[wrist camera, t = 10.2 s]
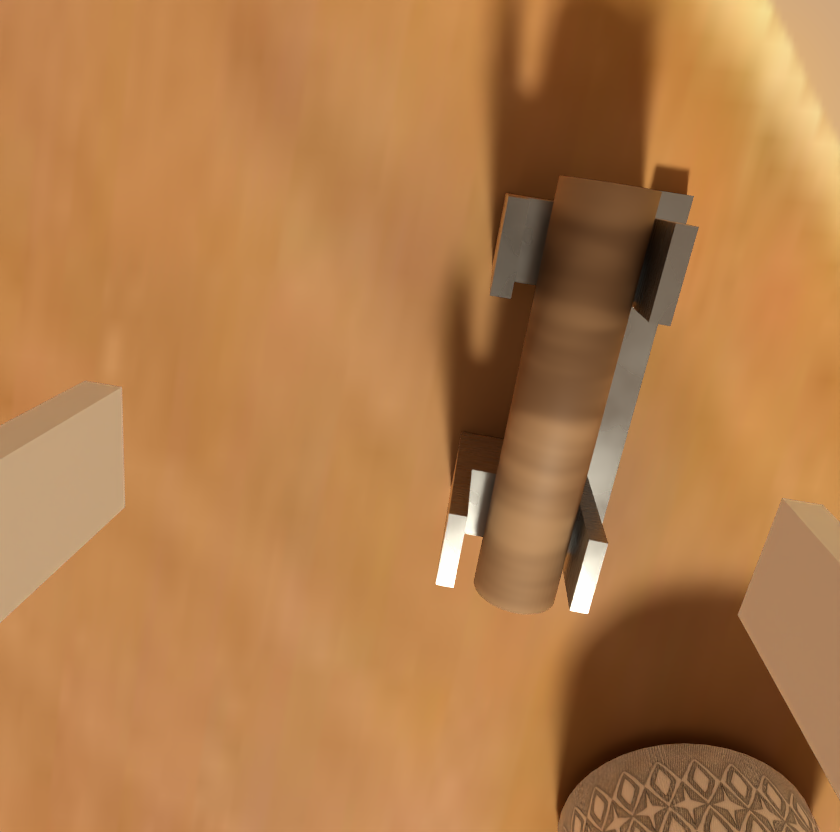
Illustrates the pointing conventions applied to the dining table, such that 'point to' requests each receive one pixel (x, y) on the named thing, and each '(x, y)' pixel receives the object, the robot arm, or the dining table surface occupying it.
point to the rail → (562, 386)
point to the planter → (686, 794)
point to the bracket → (650, 307)
